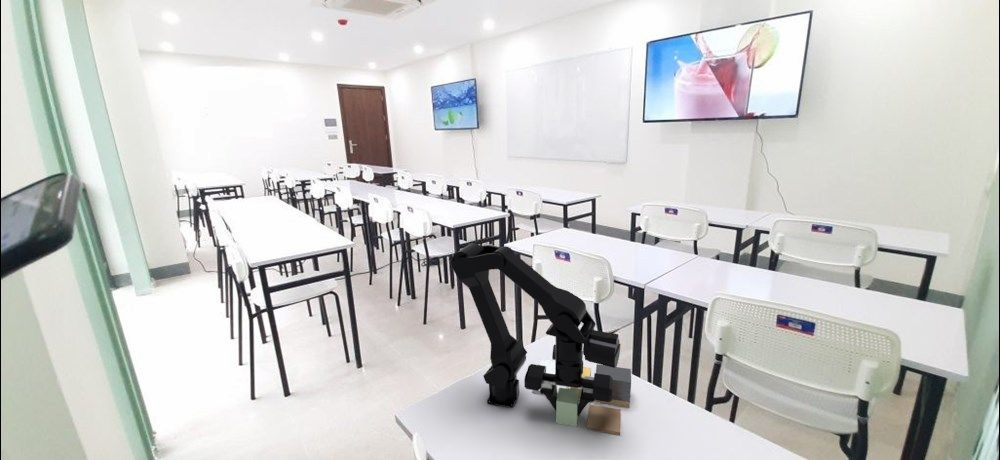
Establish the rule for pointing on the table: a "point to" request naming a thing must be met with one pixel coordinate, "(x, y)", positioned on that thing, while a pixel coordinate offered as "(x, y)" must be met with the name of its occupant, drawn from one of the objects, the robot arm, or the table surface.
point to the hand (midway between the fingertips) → (567, 413)
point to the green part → (567, 407)
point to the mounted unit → (617, 384)
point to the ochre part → (585, 373)
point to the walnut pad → (604, 419)
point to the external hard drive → (551, 370)
